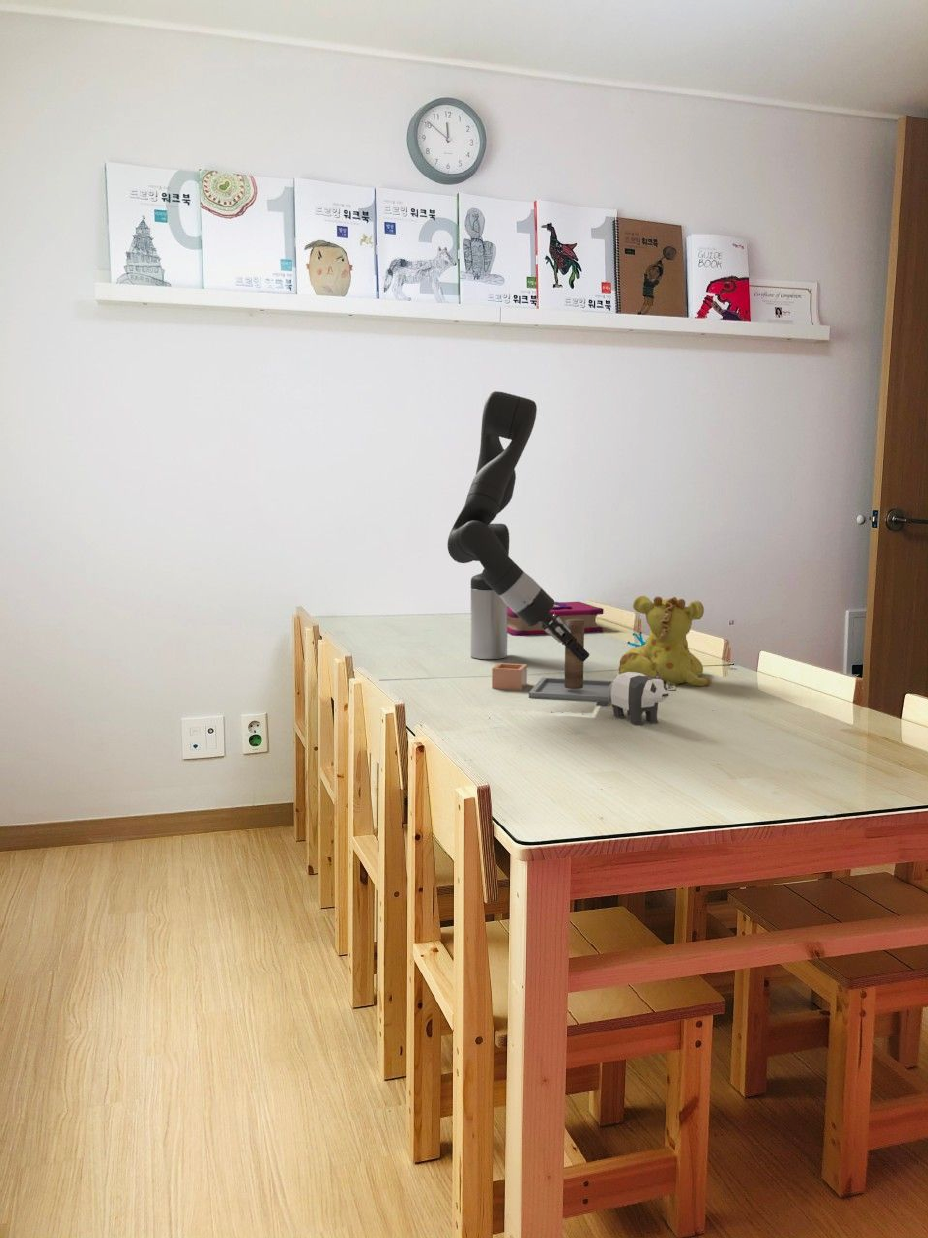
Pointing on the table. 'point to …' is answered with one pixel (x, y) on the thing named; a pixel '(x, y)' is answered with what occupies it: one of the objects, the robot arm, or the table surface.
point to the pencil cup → (509, 676)
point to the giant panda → (637, 696)
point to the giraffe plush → (666, 643)
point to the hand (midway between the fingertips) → (583, 656)
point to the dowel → (574, 656)
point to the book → (563, 612)
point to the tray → (573, 690)
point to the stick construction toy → (639, 640)
